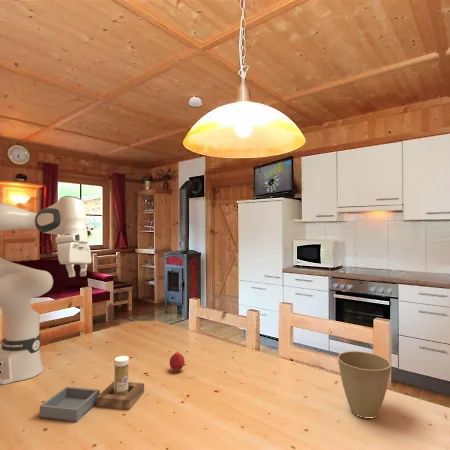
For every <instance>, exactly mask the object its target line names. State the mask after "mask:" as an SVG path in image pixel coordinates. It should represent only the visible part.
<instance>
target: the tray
mask: <svg viewBox="0 0 450 450" xmlns="http://www.w3.org/2000/svg"><path fill="white" fill-rule="evenodd" d="M100 393H101V392H100V389H98V388H96V389H95V388H85V387H74V386H65V387H63V389H61V390H59V391H58V392H57V393H55V394H54V395H53V396H52V397H50V398H49V399H47V400H46V401H45V402H43V403H42V404H41V405H39V419H44V420H53V421H61V422H70V423H71V422H73V423H78V422H79V421H80V420H81V419H82V418H83V417H85V415H86V414H87V413H88V412H90V410H92V409H93V408H94V407H95V406H96V398H97V396H98V395H99V394H100Z"/></svg>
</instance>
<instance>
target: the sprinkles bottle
mask: <svg viewBox="0 0 450 450" xmlns="http://www.w3.org/2000/svg"><path fill="white" fill-rule="evenodd" d="M113 360H114V362H113V365H114V378H113V382H114V395H122V396H126V395H127V394H128V382H129V363H130V358H129V356H127V355H121V356H116V357H115V358H114V359H113Z"/></svg>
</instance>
